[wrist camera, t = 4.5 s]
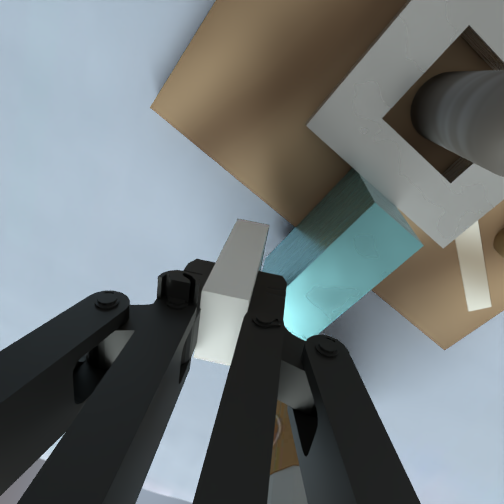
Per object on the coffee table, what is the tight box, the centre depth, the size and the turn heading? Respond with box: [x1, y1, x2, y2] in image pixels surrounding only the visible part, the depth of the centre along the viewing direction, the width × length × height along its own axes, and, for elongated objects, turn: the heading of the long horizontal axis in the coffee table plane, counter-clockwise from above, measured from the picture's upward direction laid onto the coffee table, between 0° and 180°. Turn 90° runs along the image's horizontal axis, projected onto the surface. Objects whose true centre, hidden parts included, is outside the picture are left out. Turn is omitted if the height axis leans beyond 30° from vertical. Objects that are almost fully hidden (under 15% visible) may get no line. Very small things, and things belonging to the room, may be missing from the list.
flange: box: [263, 0, 504, 341], centre depth 16 cm, size 9×16×6 cm, turn 141°
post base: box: [150, 0, 504, 350], centre depth 14 cm, size 22×18×8 cm
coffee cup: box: [267, 400, 308, 504], centre depth 21 cm, size 8×8×15 cm
